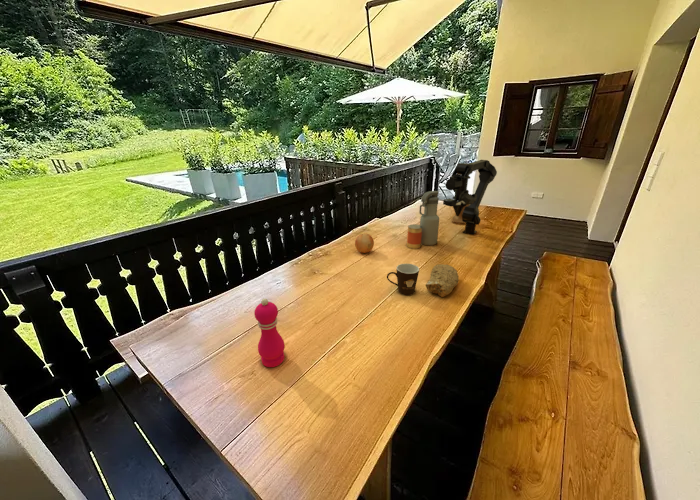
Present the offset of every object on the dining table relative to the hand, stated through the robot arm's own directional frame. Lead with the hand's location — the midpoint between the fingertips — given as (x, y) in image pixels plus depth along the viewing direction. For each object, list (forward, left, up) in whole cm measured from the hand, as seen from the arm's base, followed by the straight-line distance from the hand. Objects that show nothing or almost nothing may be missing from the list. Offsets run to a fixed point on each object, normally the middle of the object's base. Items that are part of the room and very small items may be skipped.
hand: (457, 216), depth 166 cm
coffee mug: (+69, +3, -13) cm, 70 cm away
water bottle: (+15, -10, -13) cm, 23 cm away
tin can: (+24, -14, -13) cm, 31 cm away
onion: (+46, -31, -13) cm, 57 cm away
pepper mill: (+124, -9, -13) cm, 125 cm away
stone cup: (-33, -7, -13) cm, 36 cm away
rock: (+56, +14, -13) cm, 59 cm away
